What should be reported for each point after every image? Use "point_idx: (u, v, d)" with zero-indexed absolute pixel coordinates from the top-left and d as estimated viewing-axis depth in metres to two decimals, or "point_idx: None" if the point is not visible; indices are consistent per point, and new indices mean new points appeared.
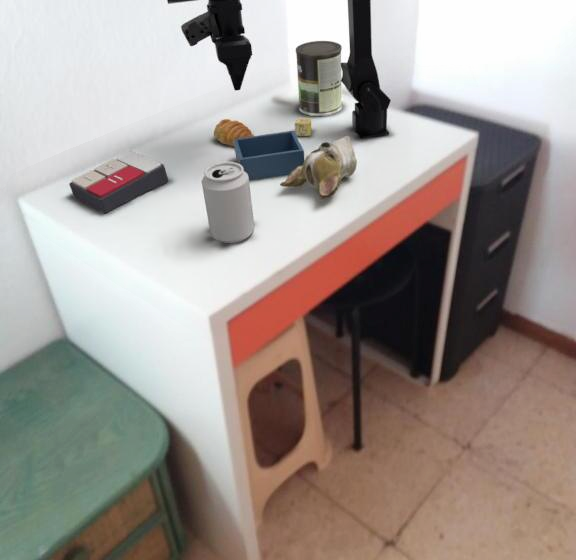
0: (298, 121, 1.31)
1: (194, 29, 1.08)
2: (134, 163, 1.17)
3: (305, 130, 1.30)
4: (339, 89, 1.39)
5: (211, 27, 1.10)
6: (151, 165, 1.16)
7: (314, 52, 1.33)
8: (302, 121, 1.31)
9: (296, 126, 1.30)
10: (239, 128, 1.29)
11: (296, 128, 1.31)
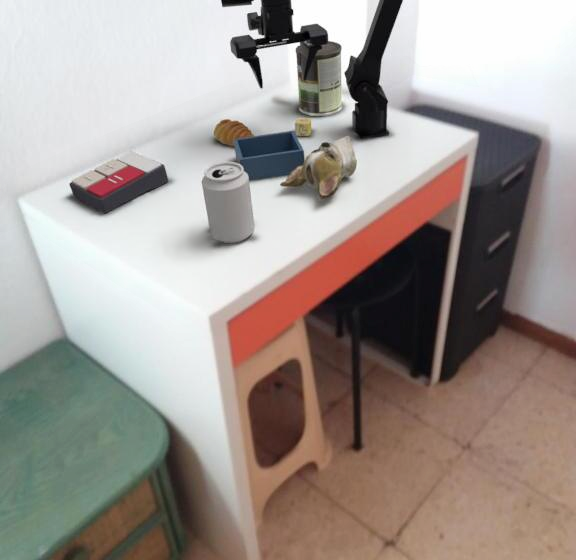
0: (298, 121, 1.31)
1: (248, 19, 1.21)
2: (134, 163, 1.17)
3: (305, 130, 1.30)
4: (339, 89, 1.39)
5: (259, 24, 1.19)
6: (151, 165, 1.16)
7: None
8: (302, 121, 1.31)
9: (296, 126, 1.30)
10: (239, 128, 1.29)
11: (296, 128, 1.31)
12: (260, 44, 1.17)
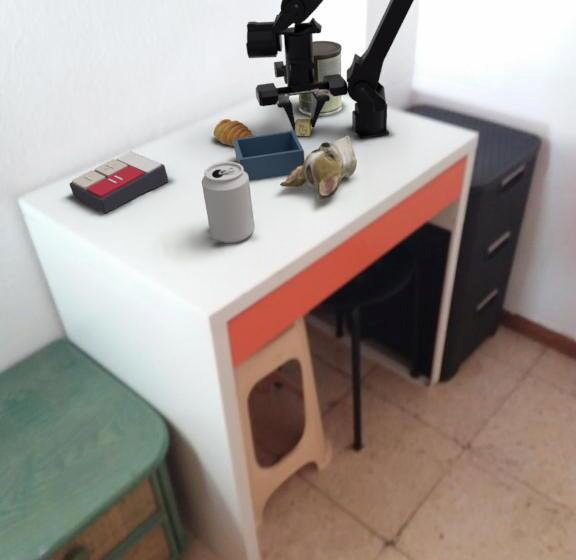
0: (298, 121, 1.31)
1: (274, 68, 1.29)
2: (134, 163, 1.17)
3: (305, 130, 1.30)
4: None
5: (284, 73, 1.27)
6: (151, 165, 1.16)
7: (314, 52, 1.33)
8: (302, 121, 1.31)
9: (296, 126, 1.30)
10: (239, 128, 1.29)
11: (296, 128, 1.31)
12: (282, 93, 1.25)
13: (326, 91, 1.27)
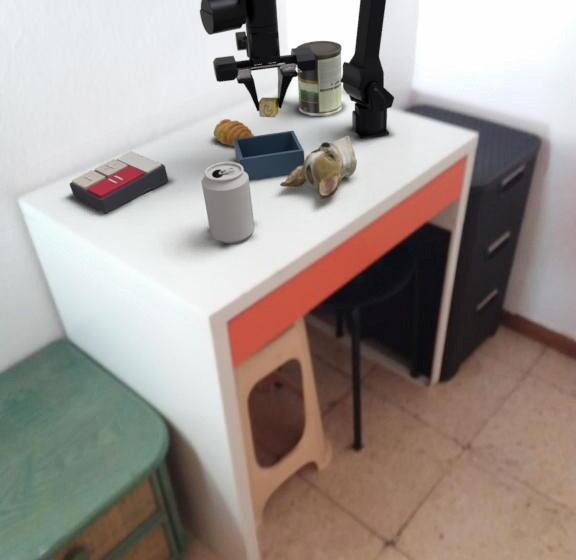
0: (263, 100, 1.15)
1: (236, 39, 1.14)
2: (134, 163, 1.17)
3: (271, 110, 1.15)
4: (339, 89, 1.39)
5: (246, 45, 1.11)
6: (151, 165, 1.16)
7: None
8: (267, 100, 1.15)
9: (260, 106, 1.15)
10: (239, 128, 1.29)
11: (260, 108, 1.15)
12: (243, 67, 1.09)
13: (294, 66, 1.11)
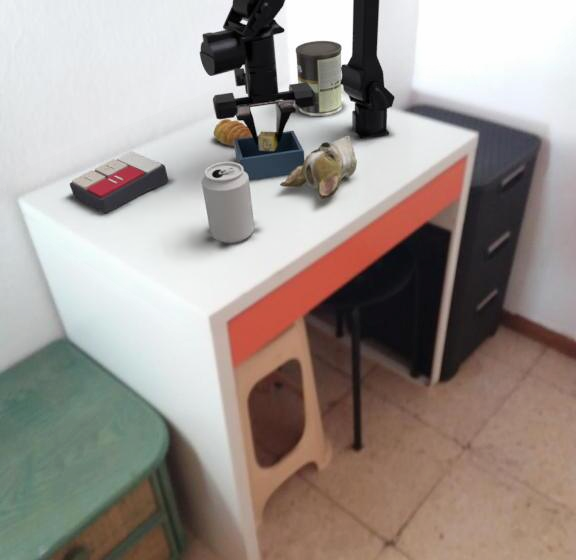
0: (261, 135, 1.17)
1: (235, 75, 1.16)
2: (134, 163, 1.17)
3: (270, 145, 1.17)
4: (339, 89, 1.39)
5: (245, 82, 1.14)
6: (151, 165, 1.16)
7: (314, 52, 1.33)
8: (266, 135, 1.17)
9: (259, 140, 1.17)
10: (239, 128, 1.29)
11: (259, 142, 1.17)
12: (242, 104, 1.12)
13: (292, 102, 1.13)
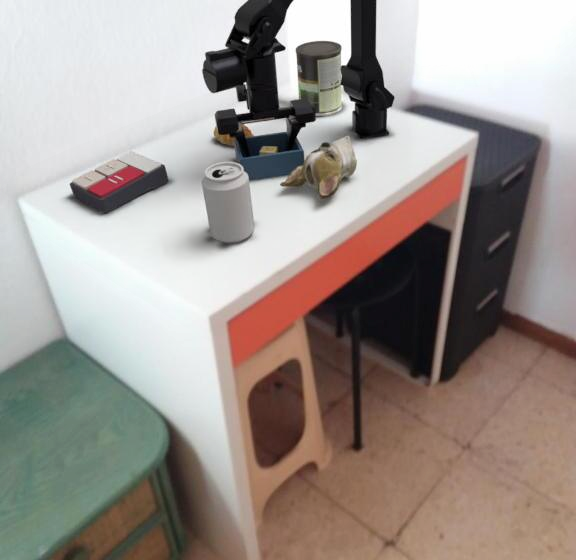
0: (263, 149, 1.19)
1: (236, 91, 1.18)
2: (134, 163, 1.17)
3: None
4: (339, 89, 1.39)
5: None
6: (151, 165, 1.16)
7: (314, 52, 1.33)
8: (267, 149, 1.19)
9: None
10: None
11: None
12: (244, 120, 1.14)
13: None
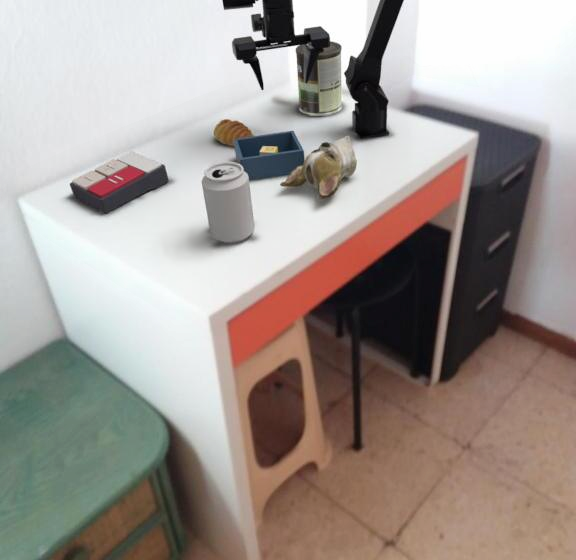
0: (263, 149, 1.19)
1: (252, 21, 1.21)
2: (134, 163, 1.17)
3: None
4: (339, 89, 1.39)
5: (262, 26, 1.19)
6: (151, 165, 1.16)
7: None
8: (267, 149, 1.19)
9: None
10: (239, 128, 1.29)
11: None
12: (261, 46, 1.17)
13: None
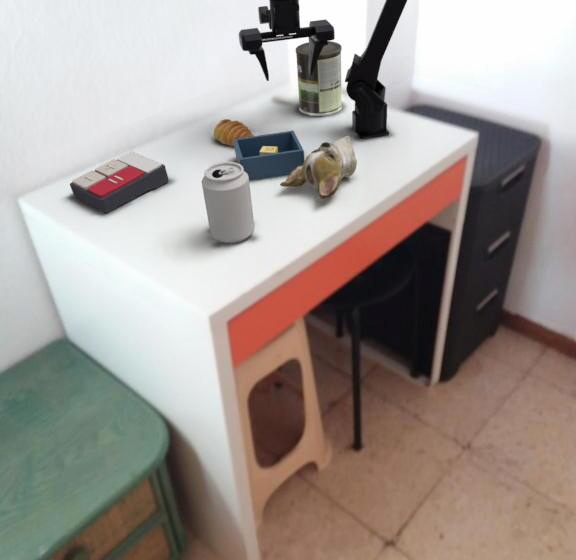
0: (263, 149, 1.19)
1: (259, 13, 1.24)
2: (134, 163, 1.17)
3: None
4: (339, 89, 1.39)
5: (268, 18, 1.22)
6: (152, 165, 1.16)
7: None
8: (267, 149, 1.19)
9: None
10: (239, 128, 1.29)
11: None
12: (266, 37, 1.20)
13: None
